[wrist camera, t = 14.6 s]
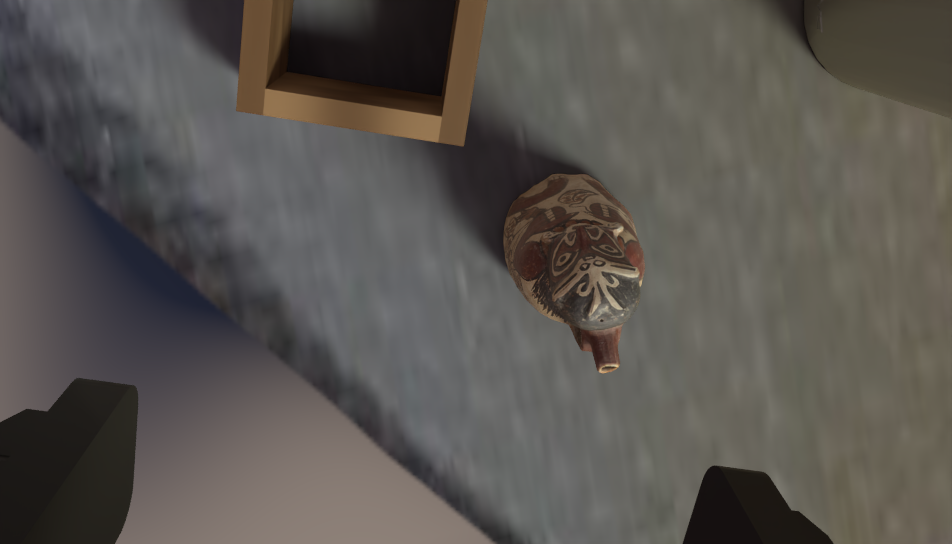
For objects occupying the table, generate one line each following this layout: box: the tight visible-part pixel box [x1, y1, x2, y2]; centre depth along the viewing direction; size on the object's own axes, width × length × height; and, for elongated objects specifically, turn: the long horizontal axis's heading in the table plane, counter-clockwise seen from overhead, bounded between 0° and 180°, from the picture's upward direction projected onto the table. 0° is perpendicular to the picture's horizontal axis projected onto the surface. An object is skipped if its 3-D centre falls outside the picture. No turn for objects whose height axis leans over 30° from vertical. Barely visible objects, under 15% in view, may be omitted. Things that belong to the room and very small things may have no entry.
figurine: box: [503, 174, 645, 373], centre depth 43 cm, size 7×7×12 cm
